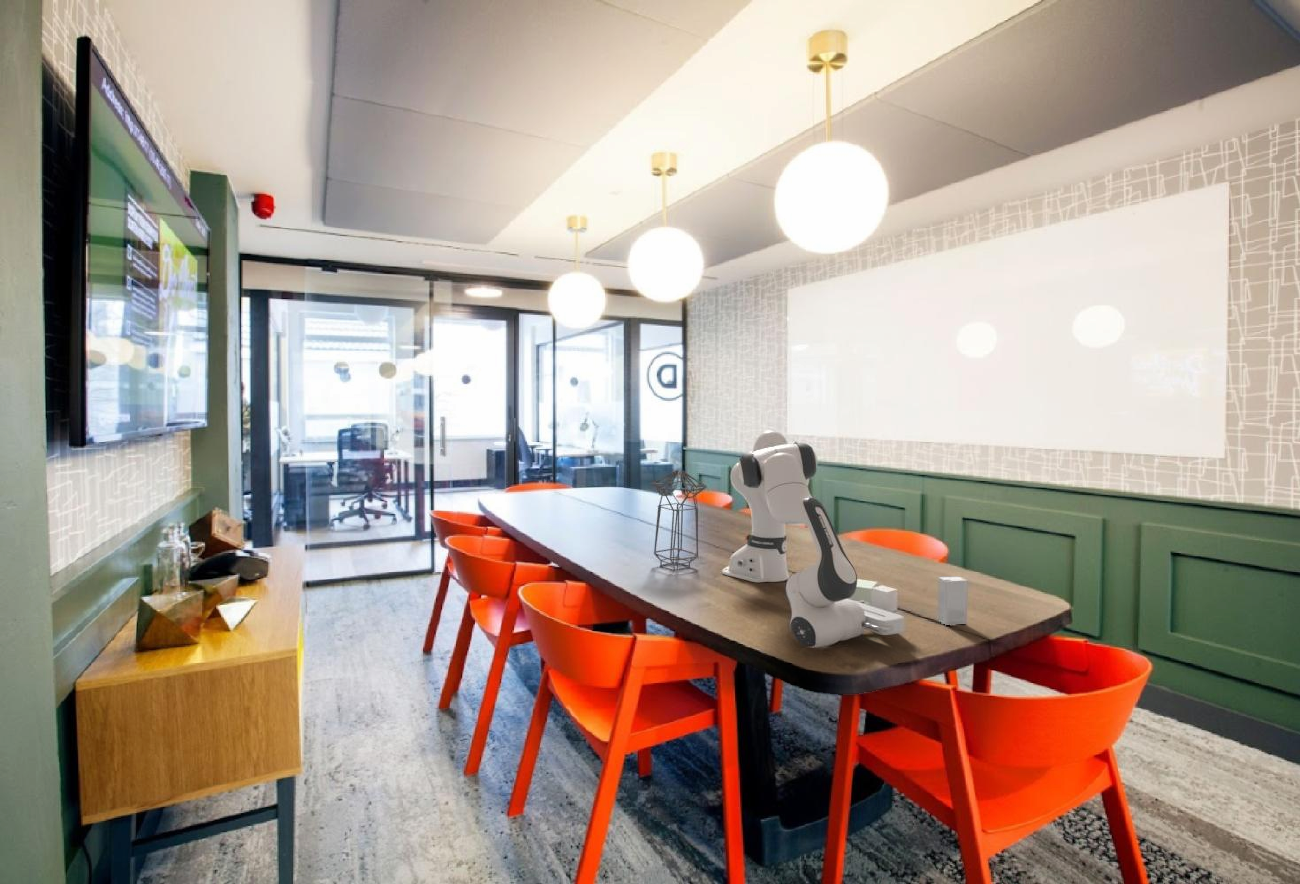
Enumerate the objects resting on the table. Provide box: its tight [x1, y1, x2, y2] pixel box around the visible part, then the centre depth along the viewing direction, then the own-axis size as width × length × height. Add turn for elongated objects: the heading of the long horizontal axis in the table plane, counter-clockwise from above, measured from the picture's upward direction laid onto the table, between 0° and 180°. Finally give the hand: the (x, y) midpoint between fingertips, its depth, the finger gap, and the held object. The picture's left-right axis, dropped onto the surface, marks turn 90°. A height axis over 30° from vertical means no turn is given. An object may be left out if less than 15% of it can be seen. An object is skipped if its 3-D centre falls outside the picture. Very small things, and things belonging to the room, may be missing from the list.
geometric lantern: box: [649, 469, 708, 572], centre depth 221 cm, size 16×16×35 cm
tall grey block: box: [871, 584, 899, 612], centre depth 159 cm, size 4×4×11 cm
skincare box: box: [936, 576, 969, 626], centre depth 165 cm, size 6×4×12 cm
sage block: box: [847, 578, 879, 603], centre depth 176 cm, size 8×8×4 cm
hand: (882, 609), depth 159 cm, fingers open, 8 cm apart
